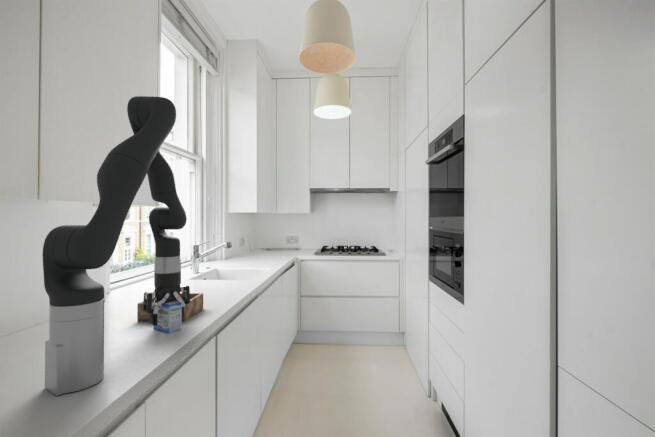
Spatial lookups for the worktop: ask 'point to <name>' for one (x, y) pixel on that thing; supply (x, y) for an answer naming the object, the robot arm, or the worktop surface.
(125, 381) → the worktop surface
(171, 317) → the medicine box
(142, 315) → the storage box
